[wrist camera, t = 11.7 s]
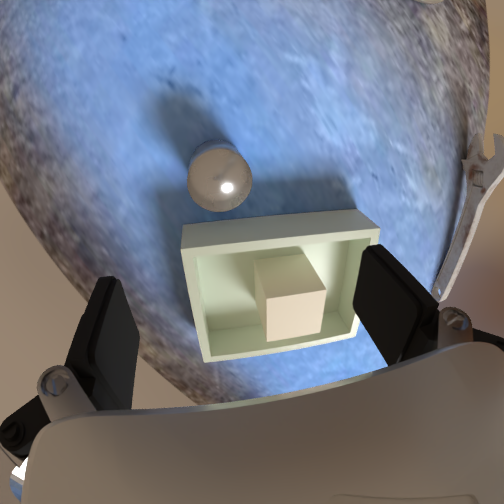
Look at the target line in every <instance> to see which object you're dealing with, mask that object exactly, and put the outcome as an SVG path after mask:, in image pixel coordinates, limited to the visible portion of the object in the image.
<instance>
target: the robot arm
mask: <svg viewBox="0 0 504 504" xmlns="http://www.w3.org/2000/svg"><path fill="white" fill-rule="evenodd" d="M415 1H417V2H420V3H424V4H436V3H440V2H442V1H443V0H415ZM352 305H353V309H354V311H355V313H356V315H357V316H358V318H359V319H360V321H361V322H362V324H363V325H364V327H365V329H366V330H367V332H368V333H369V335H370V337H371V338H372V340H373V341H374V343H375V345H376V346H377V348H378V350H379V351H380V353H381V355H382V356H383V358H384V359H385V361H386V363H387V364H388V367H385V368H382V369H379V370H375V371H372V372H369V373H365V374H362V375H359V376H355V377H352V378H348V379H344V380H340V381H337V382H333V383H329V384H325V385H321V386H316V387H312V388H308V389H303V390H298V391H294V392H289V393H284V394H278V395H273V396H267V397H261V398H255V399H249V400H242V401H235V402H228V403H219V404H210V405H200V406H189V407H175V408H158V409H135V410H134V409H133V410H132V409H131V407H132V396H133V387H134V378H135V370H136V362H137V355H138V348H139V341H140V336H139V331H138V329H137V326H136V323H135V321H134V318H133V316H132V313H131V310H130V307H129V305H128V302H127V299H126V296H125V293H124V290H123V287H122V284H121V282H120V280H119V279H116V278H115V277H114V276H107V277H100V278H99V279H98V281H97V283H96V285H95V288H94V290H93V292H92V295H91V297H90V300H89V302H88V305H87V307H86V310H85V313H84V314H83V315H82V317H81V319H80V322H79V324H78V327H77V330H76V332H75V335H74V338H73V341H72V344H71V347H70V349H69V353H68V355H67V358H66V362H65V365H64V366H61V365H57V366H53V367H50V368H48V369H47V370H46V371H44V372H43V373H42V375H41V376H40V378H39V380H38V382H37V391H38V394H39V395H37V396H36V397H35V398H33V399H32V400H31V401H29V402H28V403H26V404H25V405H24V406H22V407H21V408H20V409H18V410H17V411H16V412H14V413H13V414H11V415H10V416H9V417H7V418H6V419H5V420H4V421H3V423H2V424H1V426H0V504H504V338H501V337H499V336H495V335H492V334H489V333H486V332H483V331H480V330H477V329H474V328H472V322H471V319H470V317H469V316H468V315H467V314H466V313H465V312H464V311H462V310H461V309H458V308H456V307H445V308H443V309H442V310H441V311H440V312H439V310H438V309H437V308H438V306H439V303H438V302H437V301H436V300H435V299H434V298H433V296H432V295H431V294H430V293H429V292H428V291H427V290H426V289H425V288H424V287H423V286H422V285H421V284H420V283H419V282H418V281H417V279H416V278H415V277H414V276H413V275H412V274H411V273H410V272H409V271H408V270H407V269H406V268H405V267H404V266H403V265H402V264H401V263H400V262H399V261H398V260H397V259H396V258H395V257H394V256H393V255H392V254H391V253H390V252H389V251H388V250H387V249H386V248H384V247H383V246H382V245H381V244H377V245H369V246H367V247H366V249H365V250H363V252H362V256H361V262H360V267H359V273H358V278H357V283H356V288H355V293H354V297H353V302H352Z"/></svg>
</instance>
